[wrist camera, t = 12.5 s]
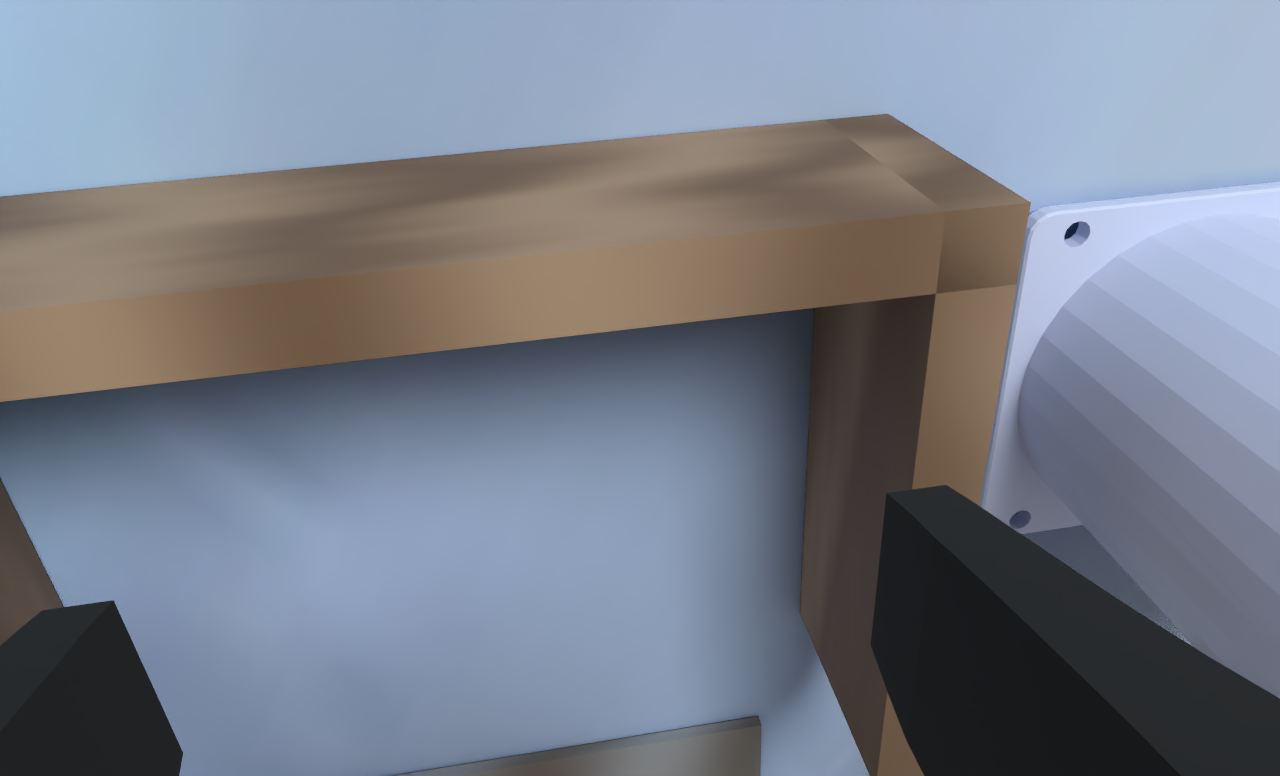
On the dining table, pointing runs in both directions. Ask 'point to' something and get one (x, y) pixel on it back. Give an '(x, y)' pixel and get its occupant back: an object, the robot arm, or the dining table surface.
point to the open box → (567, 323)
